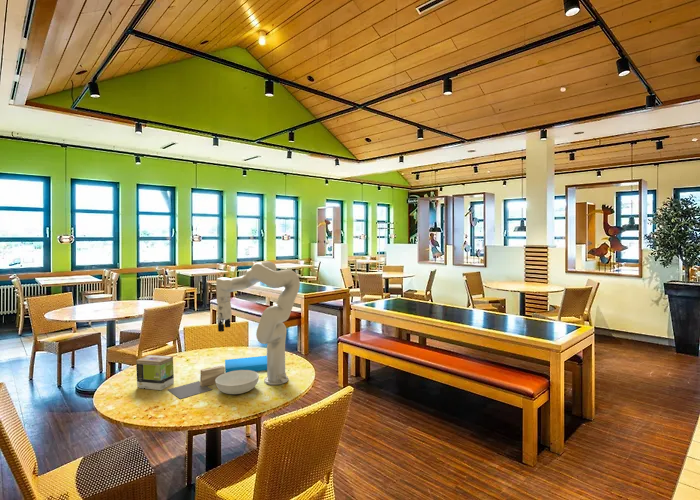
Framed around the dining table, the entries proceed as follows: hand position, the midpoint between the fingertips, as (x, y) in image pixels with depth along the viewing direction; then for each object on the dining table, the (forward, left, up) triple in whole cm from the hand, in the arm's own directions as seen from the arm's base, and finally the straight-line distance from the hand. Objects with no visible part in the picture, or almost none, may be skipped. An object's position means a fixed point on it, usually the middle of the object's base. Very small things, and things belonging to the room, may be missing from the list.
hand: (224, 329), depth 230 cm
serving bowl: (-31, +9, -24) cm, 40 cm away
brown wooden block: (-14, +14, -24) cm, 31 cm away
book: (-4, -12, -25) cm, 28 cm away
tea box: (+5, +36, -24) cm, 44 cm away
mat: (-14, +26, -24) cm, 38 cm away
